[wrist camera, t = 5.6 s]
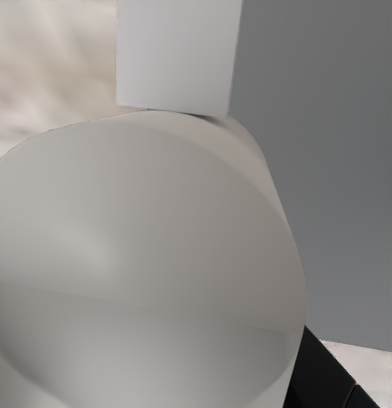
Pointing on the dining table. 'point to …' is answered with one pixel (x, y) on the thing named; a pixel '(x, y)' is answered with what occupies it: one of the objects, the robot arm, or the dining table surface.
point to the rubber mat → (327, 149)
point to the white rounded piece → (150, 238)
